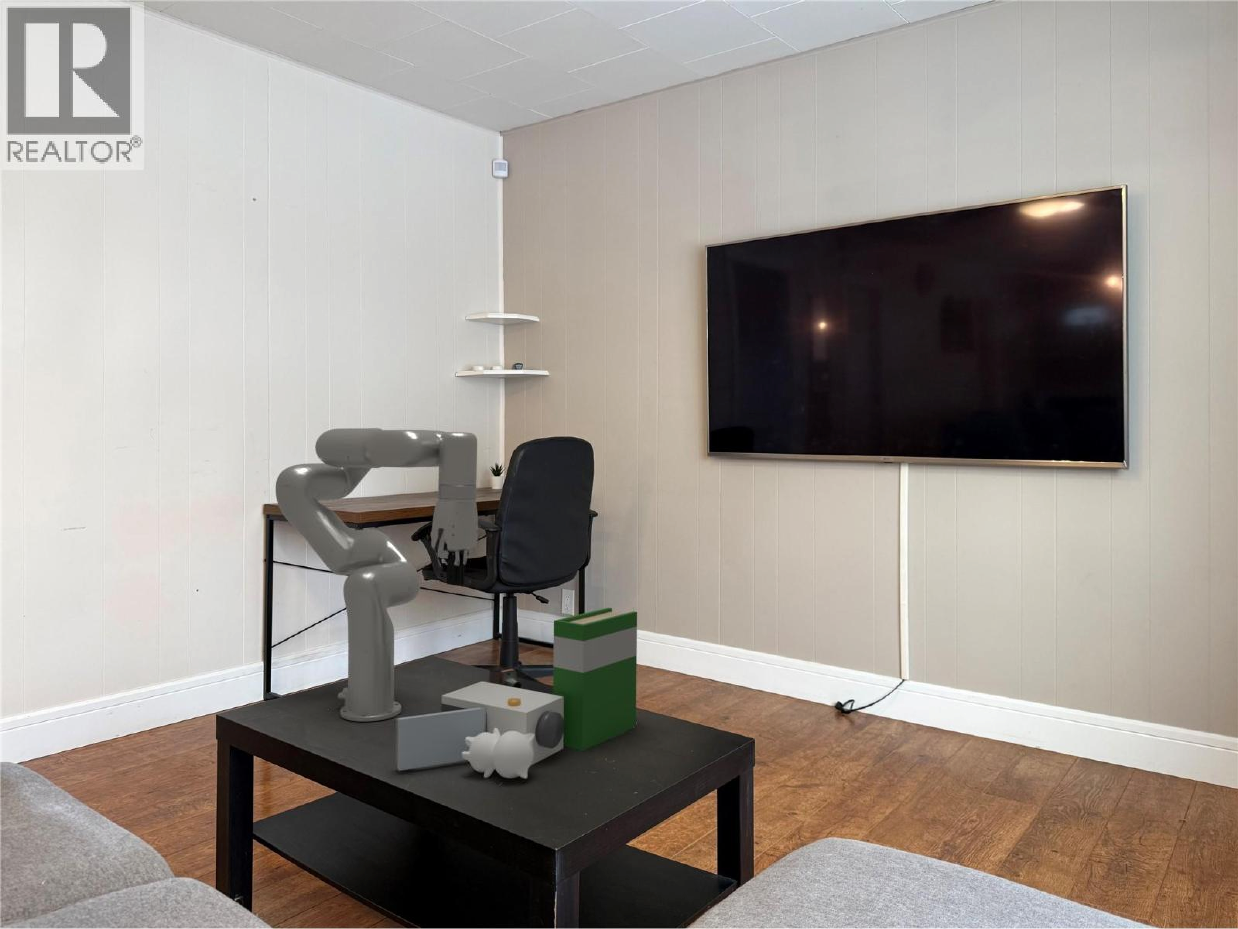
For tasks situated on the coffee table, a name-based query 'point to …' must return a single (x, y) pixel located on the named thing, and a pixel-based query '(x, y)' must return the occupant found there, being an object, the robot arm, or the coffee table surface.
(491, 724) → the white rectangular box
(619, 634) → the hardback book
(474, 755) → the cat figurine
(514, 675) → the electronic device
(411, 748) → the side door
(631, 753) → the coffee table surface
